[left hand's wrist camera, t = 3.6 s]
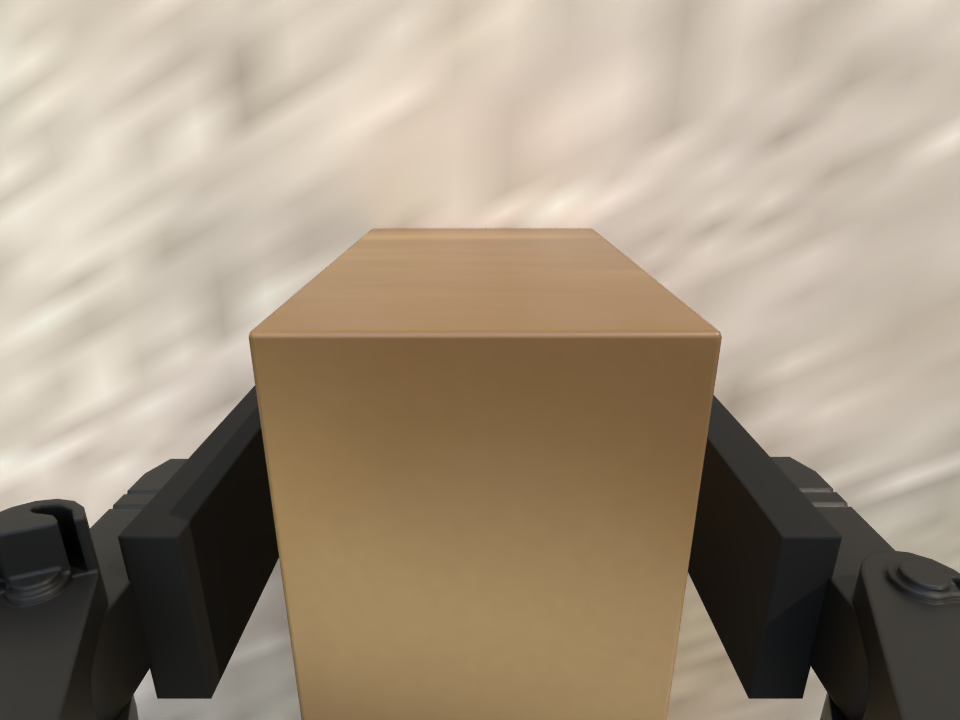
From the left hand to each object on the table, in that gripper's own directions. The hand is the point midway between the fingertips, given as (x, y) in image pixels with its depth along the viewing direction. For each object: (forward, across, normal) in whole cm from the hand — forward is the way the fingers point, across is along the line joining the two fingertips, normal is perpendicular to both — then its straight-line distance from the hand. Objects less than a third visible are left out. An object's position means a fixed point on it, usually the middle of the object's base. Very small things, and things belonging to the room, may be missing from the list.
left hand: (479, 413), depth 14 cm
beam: (+1, 0, -34) cm, 35 cm away
